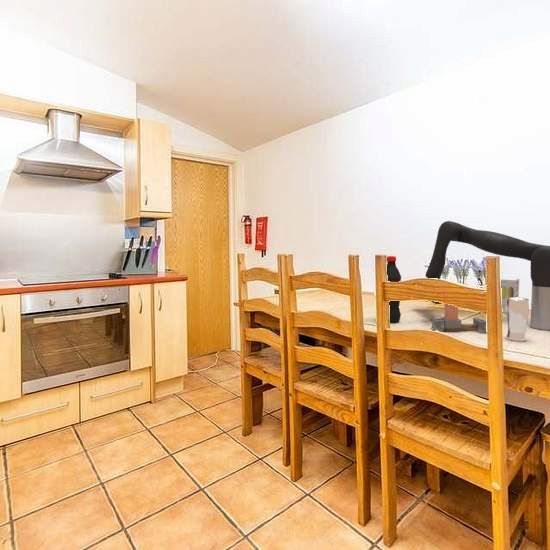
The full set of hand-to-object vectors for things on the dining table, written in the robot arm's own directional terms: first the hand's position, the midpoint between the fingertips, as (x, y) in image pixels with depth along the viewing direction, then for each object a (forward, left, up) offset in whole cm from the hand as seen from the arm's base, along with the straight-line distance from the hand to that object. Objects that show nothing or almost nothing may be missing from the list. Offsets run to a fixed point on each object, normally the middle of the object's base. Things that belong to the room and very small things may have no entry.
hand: (445, 300), depth 152 cm
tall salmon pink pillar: (-3, +7, -9) cm, 12 cm away
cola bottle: (+23, +1, -11) cm, 25 cm away
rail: (-5, +6, -11) cm, 14 cm away
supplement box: (-23, -45, -11) cm, 52 cm away
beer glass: (-24, +11, -11) cm, 29 cm away
